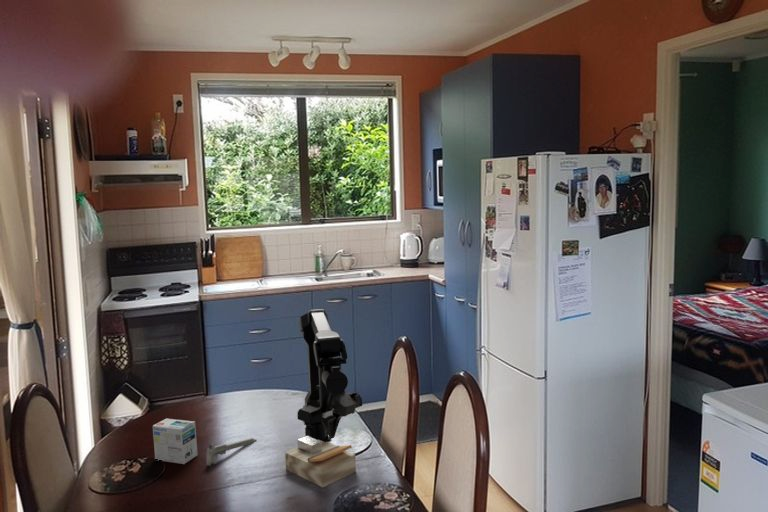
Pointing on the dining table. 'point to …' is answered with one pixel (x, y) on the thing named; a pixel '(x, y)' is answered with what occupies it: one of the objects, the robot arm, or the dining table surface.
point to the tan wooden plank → (328, 453)
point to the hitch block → (320, 465)
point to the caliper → (224, 449)
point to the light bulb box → (175, 440)
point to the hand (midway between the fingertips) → (331, 437)
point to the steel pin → (309, 445)
